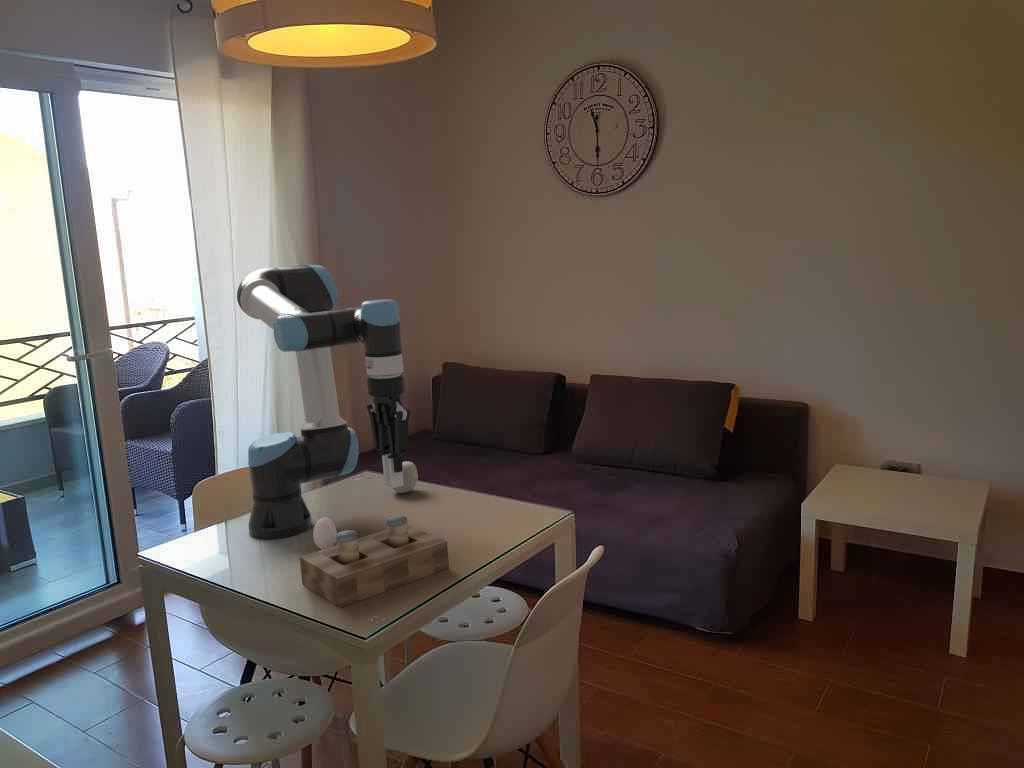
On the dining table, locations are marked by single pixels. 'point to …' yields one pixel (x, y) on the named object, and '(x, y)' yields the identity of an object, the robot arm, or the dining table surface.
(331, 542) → the egg
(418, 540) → the walnut board
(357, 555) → the dowel
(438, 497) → the dining table surface
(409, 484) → the decorative object
